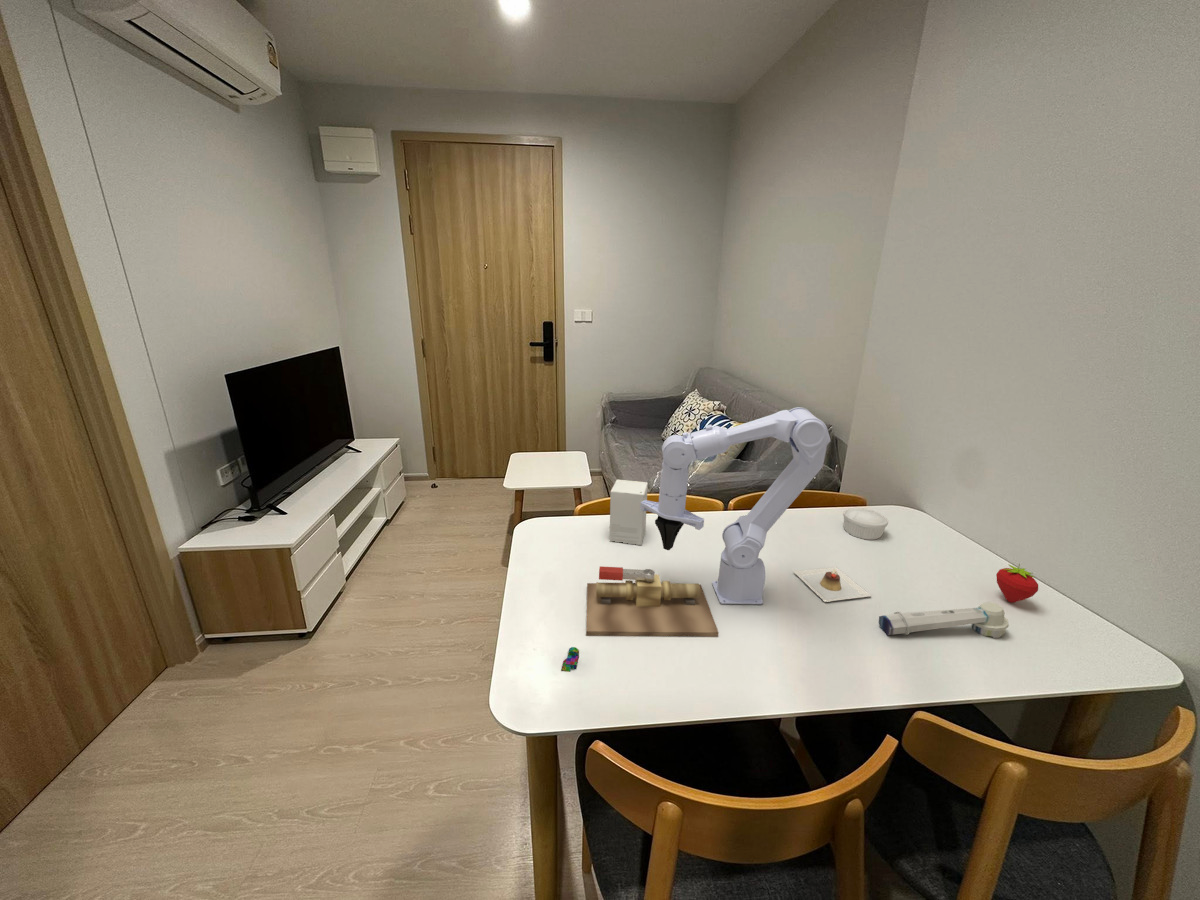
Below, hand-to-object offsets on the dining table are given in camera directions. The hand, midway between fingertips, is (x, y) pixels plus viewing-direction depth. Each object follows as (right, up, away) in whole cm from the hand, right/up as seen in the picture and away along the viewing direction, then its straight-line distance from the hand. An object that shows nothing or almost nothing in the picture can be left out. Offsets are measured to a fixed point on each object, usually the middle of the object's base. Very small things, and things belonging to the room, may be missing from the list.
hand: (668, 547), depth 105 cm
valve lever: (-9, -6, -4) cm, 12 cm away
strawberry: (+77, -13, +1) cm, 78 cm away
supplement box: (-7, -2, +26) cm, 27 cm away
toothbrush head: (+55, -16, -8) cm, 57 cm away
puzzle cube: (-20, -18, -19) cm, 33 cm away
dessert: (+39, -11, +6) cm, 41 cm away
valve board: (-5, -12, -4) cm, 14 cm away
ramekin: (+60, -2, +31) cm, 68 cm away
